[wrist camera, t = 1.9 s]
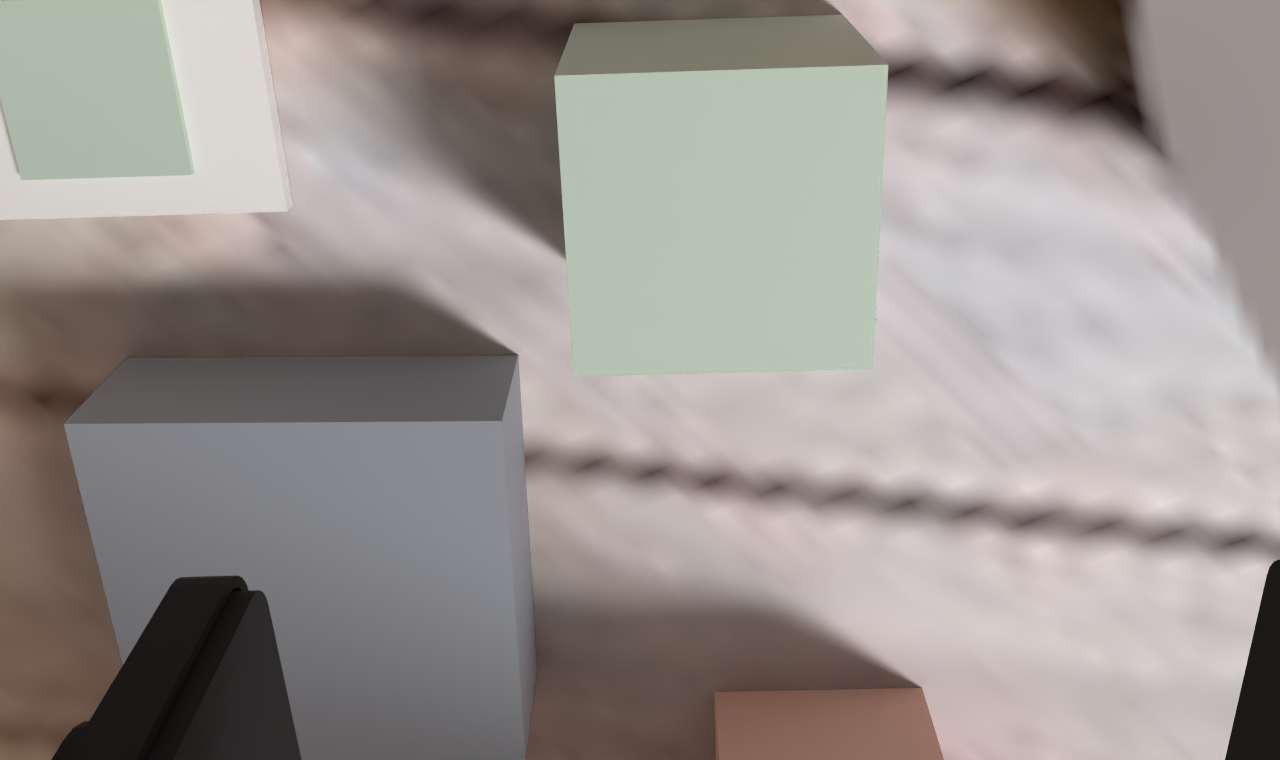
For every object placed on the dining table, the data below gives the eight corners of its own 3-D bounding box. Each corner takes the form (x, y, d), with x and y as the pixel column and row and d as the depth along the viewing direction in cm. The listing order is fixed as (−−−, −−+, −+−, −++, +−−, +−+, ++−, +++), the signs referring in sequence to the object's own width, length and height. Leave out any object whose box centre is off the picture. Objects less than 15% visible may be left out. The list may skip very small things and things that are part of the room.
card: (249, -60, 26) (239, -57, 26) (292, 205, 29) (284, 214, 28) (-111, -48, 27) (-130, -44, 26) (-36, 214, 29) (-52, 223, 29)
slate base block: (519, 349, 31) (502, 421, 27) (538, 662, 35) (525, 760, 32) (132, 352, 31) (63, 423, 28) (197, 664, 35) (145, 761, 32)
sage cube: (842, 13, 27) (888, 64, 22) (832, 266, 30) (872, 369, 24) (574, 22, 27) (554, 75, 22) (588, 273, 30) (573, 376, 24)
